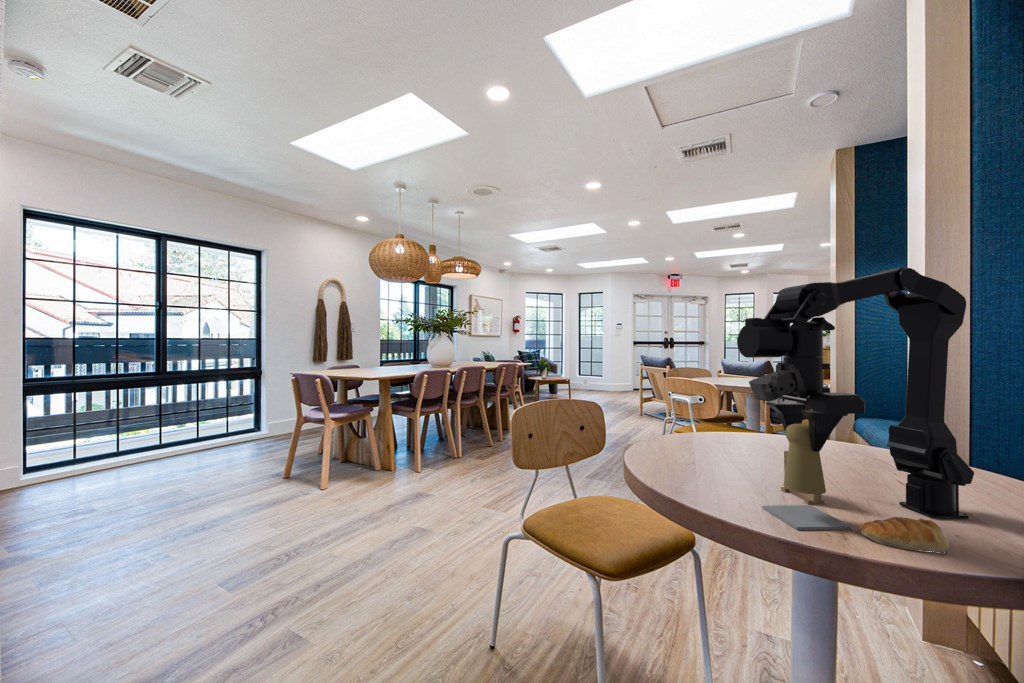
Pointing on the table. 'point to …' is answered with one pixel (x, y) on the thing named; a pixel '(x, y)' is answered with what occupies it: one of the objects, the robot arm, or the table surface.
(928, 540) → the pastry
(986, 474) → the table surface
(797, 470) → the olive peg figure
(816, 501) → the screen
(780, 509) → the coaster
